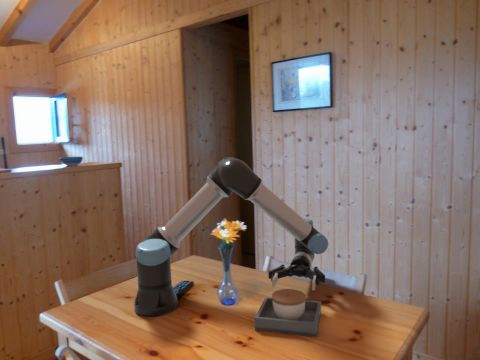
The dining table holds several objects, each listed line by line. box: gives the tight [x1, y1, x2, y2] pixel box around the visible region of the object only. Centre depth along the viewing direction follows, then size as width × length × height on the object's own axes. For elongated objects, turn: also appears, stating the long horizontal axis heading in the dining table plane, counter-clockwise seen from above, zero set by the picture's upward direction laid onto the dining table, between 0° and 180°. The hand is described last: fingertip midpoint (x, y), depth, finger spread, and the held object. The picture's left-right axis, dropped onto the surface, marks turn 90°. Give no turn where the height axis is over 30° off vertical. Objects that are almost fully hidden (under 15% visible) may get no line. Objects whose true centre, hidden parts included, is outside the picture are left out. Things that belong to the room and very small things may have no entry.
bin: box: [254, 296, 322, 338], centre depth 126 cm, size 19×16×4 cm
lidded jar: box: [271, 288, 307, 321], centre depth 126 cm, size 11×11×9 cm
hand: (292, 285), depth 133 cm, fingers open, 13 cm apart
